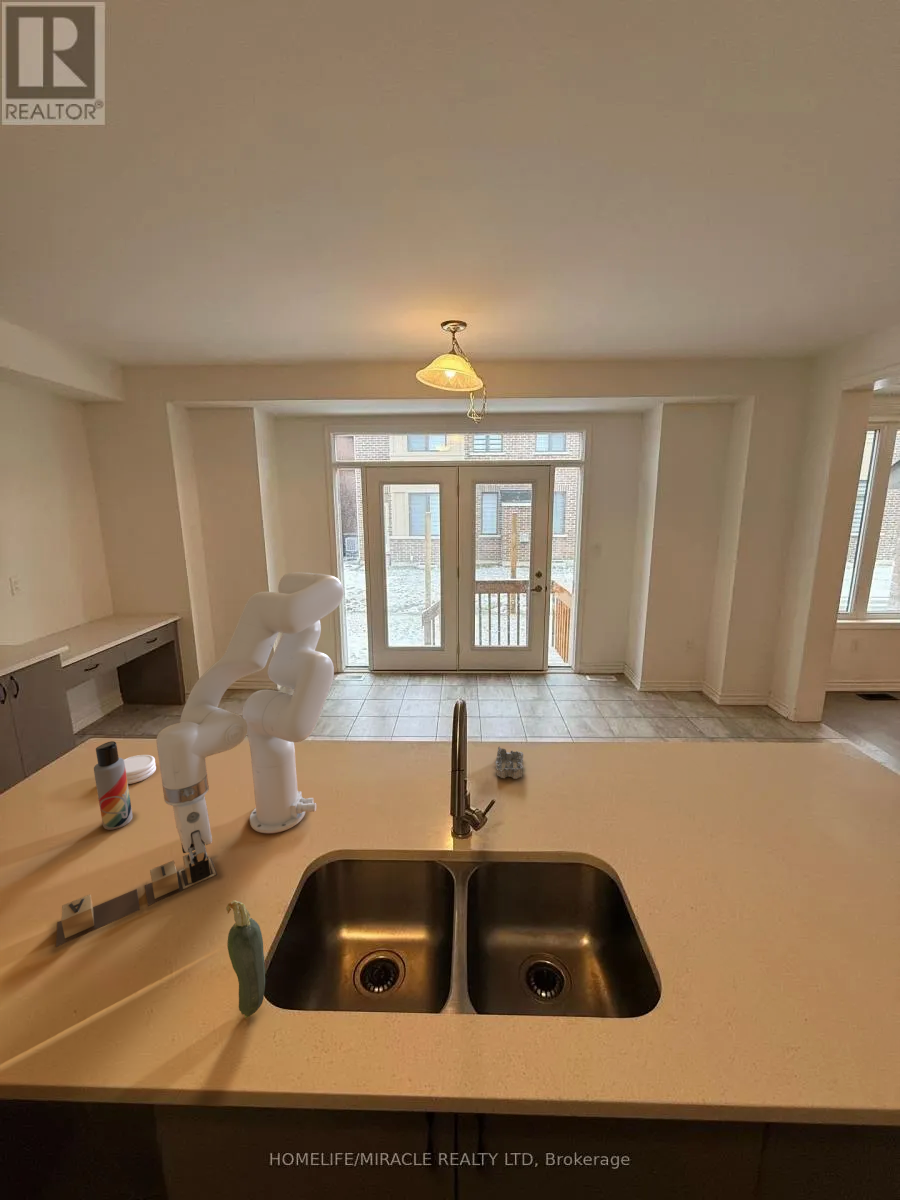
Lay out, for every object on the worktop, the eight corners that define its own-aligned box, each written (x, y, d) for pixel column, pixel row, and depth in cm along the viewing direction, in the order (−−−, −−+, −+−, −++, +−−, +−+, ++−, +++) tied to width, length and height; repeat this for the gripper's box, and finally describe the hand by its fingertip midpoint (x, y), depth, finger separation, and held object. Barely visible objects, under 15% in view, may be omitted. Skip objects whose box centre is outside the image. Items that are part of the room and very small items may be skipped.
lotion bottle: (117, 832, 105) (104, 751, 101) (97, 828, 106) (83, 749, 102) (138, 815, 111) (127, 739, 107) (118, 812, 112) (106, 736, 108)
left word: (137, 890, 89) (134, 872, 88) (140, 911, 84) (137, 892, 84) (57, 924, 82) (53, 904, 81) (56, 948, 77) (52, 928, 76)
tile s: (206, 862, 96) (204, 846, 95) (210, 874, 92) (208, 858, 92) (184, 871, 93) (182, 855, 92) (188, 884, 90) (186, 867, 89)
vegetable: (273, 1000, 69) (262, 886, 65) (263, 1033, 65) (250, 913, 61) (243, 1001, 69) (231, 887, 65) (231, 1034, 65) (216, 914, 61)
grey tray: (211, 859, 97) (209, 842, 96) (217, 876, 92) (215, 858, 92) (144, 887, 90) (142, 868, 89) (148, 907, 85) (145, 888, 84)
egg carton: (497, 757, 136) (497, 745, 135) (523, 760, 135) (523, 747, 134) (494, 778, 126) (494, 764, 125) (522, 781, 124) (522, 767, 124)
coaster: (160, 775, 127) (158, 763, 127) (116, 790, 121) (114, 778, 120) (151, 761, 134) (150, 750, 134) (109, 774, 128) (108, 763, 127)
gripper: (217, 801, 85) (226, 881, 88) (199, 761, 98) (207, 832, 101) (170, 818, 80) (182, 901, 83) (157, 773, 93) (168, 847, 97)
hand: (196, 863), depth 92 cm, fingers open, 9 cm apart
